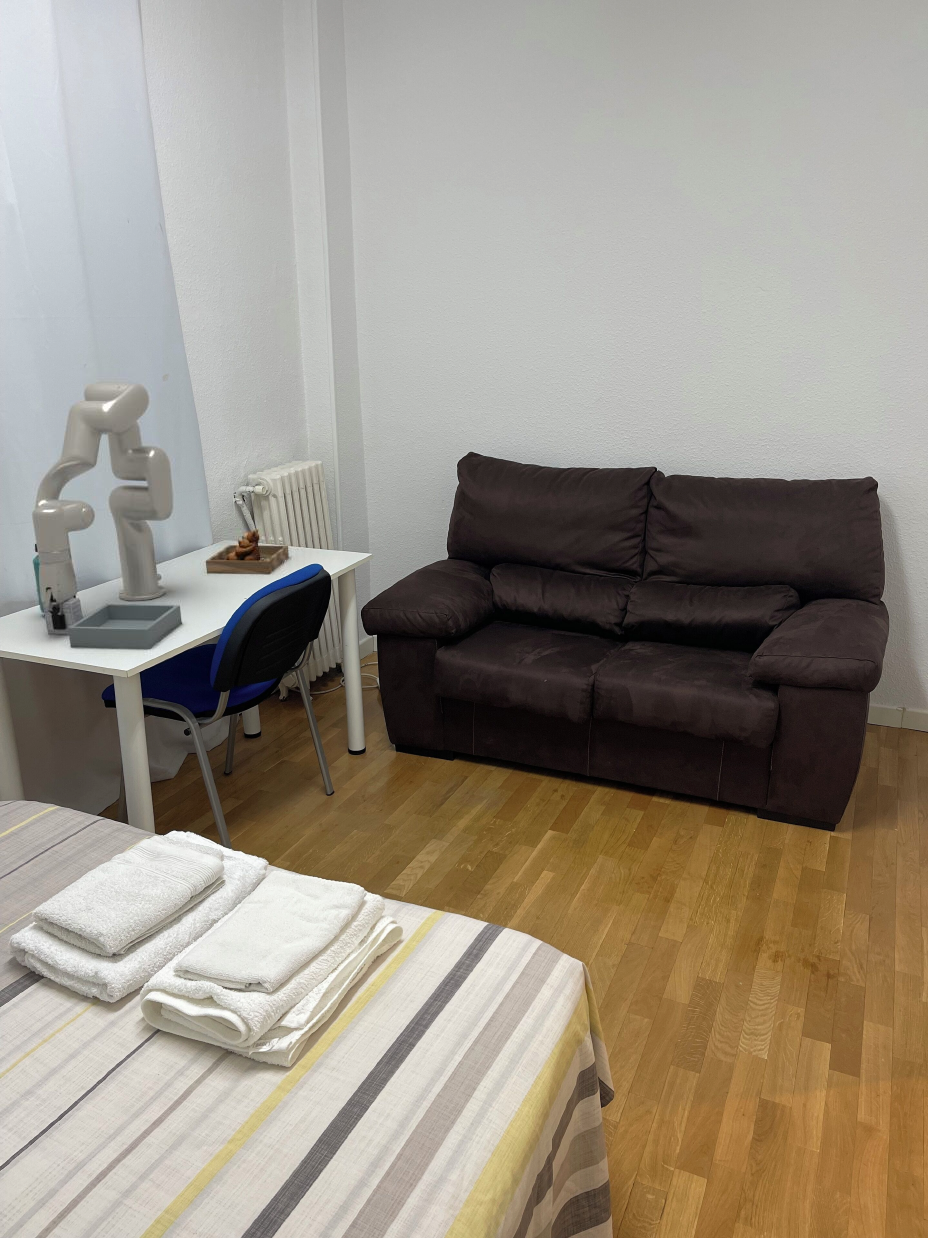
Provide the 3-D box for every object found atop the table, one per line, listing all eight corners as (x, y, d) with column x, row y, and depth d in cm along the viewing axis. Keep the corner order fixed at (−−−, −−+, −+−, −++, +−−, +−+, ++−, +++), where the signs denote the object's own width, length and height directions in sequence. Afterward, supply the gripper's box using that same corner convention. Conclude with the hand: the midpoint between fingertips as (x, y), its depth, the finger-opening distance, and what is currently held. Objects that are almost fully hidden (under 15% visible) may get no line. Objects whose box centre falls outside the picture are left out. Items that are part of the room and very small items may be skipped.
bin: (108, 622, 253) (106, 603, 252) (181, 623, 251) (179, 605, 250) (70, 647, 235) (67, 627, 233) (149, 649, 232) (147, 629, 231)
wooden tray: (230, 556, 319) (229, 545, 318) (288, 557, 317) (288, 545, 316) (206, 573, 299) (205, 560, 298) (269, 574, 297) (268, 561, 296)
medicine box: (85, 630, 247) (80, 597, 245) (75, 635, 243) (70, 602, 240) (57, 629, 249) (52, 596, 246) (47, 634, 244) (42, 601, 242)
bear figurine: (230, 562, 313) (226, 525, 309) (275, 562, 312) (272, 525, 308) (215, 573, 300) (211, 535, 296) (262, 574, 299) (259, 535, 295)
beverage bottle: (57, 619, 257) (46, 545, 250) (35, 618, 258) (23, 545, 252) (71, 612, 263) (61, 540, 257) (50, 610, 264) (39, 539, 258)
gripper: (58, 547, 248) (68, 615, 254) (22, 564, 232) (33, 636, 238) (85, 548, 247) (95, 616, 253) (51, 564, 231) (62, 637, 237)
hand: (65, 625), depth 245 cm, fingers closed on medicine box, 4 cm apart
